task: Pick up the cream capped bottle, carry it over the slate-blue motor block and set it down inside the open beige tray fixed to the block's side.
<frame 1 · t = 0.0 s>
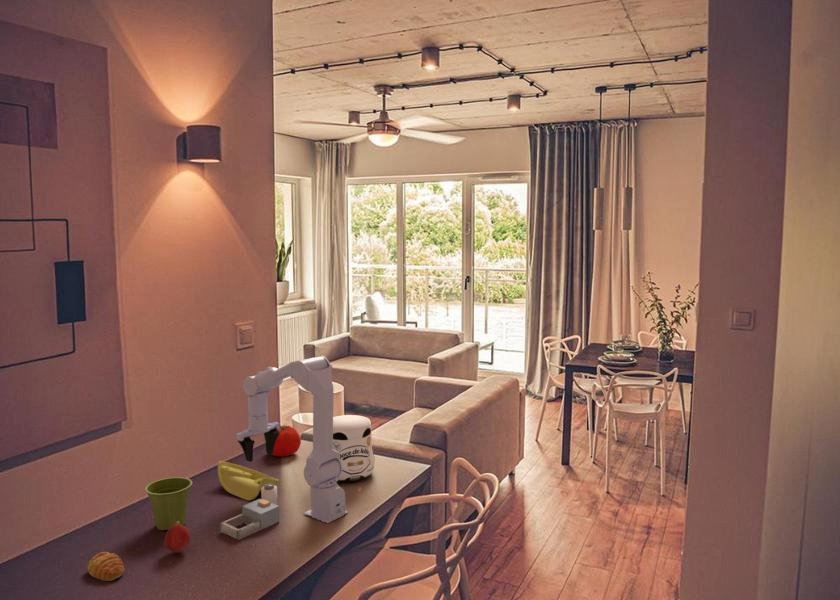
hand: (259, 457, 193), 10 cm above the table, tool pointing down, fingers open, 7 cm apart
cream capped bottle: (269, 508, 181), on the table
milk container: (348, 476, 205), on the table
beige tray: (241, 530, 167), on the table
plant pot: (170, 525, 171), on the table
pastry: (107, 573, 148), on the table
plastic component: (247, 489, 195), on the table
motor block: (261, 521, 172), on the table
tomato: (283, 455, 224), on the table
onion: (178, 553, 156), on the table
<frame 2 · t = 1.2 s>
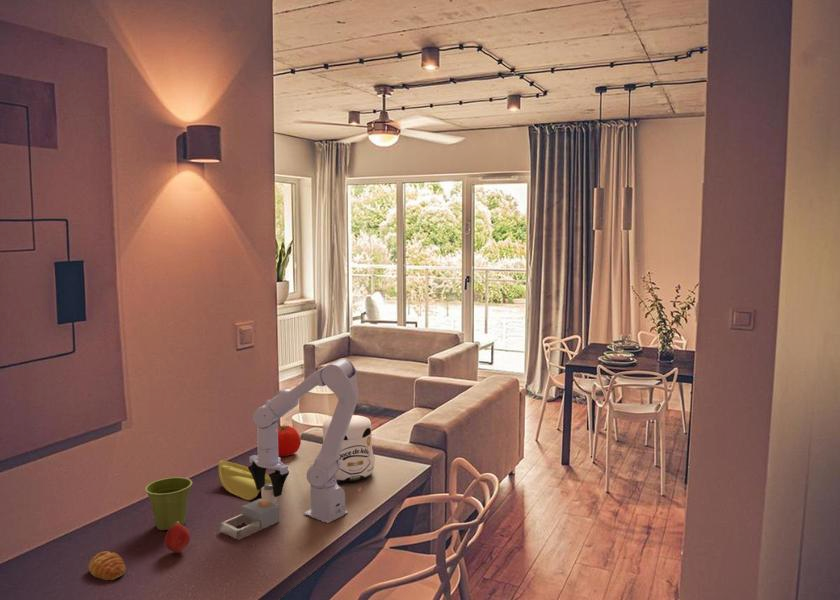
hand: (269, 492, 180), 5 cm above the table, tool pointing down, fingers open, 7 cm apart
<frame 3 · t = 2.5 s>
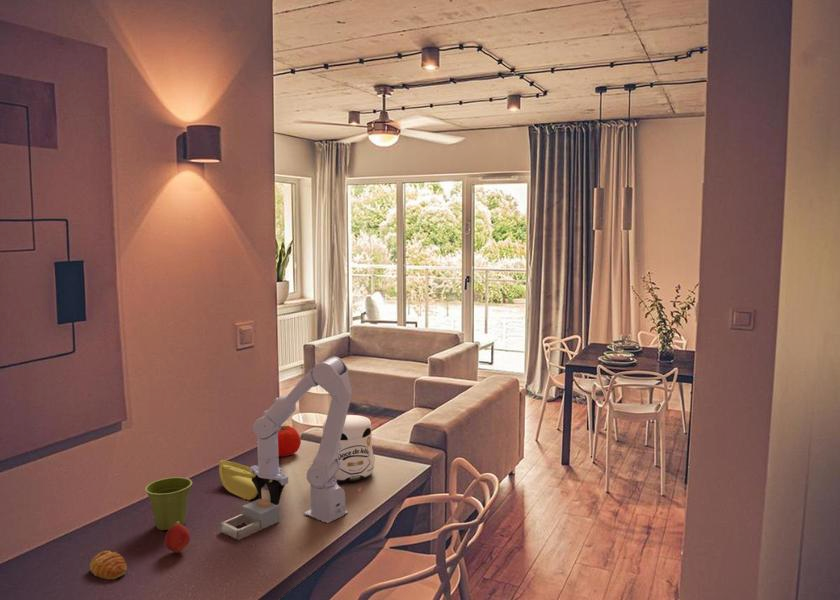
hand: (269, 502, 181), 2 cm above the table, tool pointing down, fingers closed on cream capped bottle, 4 cm apart
cream capped bottle: (269, 508, 181), on the table, touching gripper
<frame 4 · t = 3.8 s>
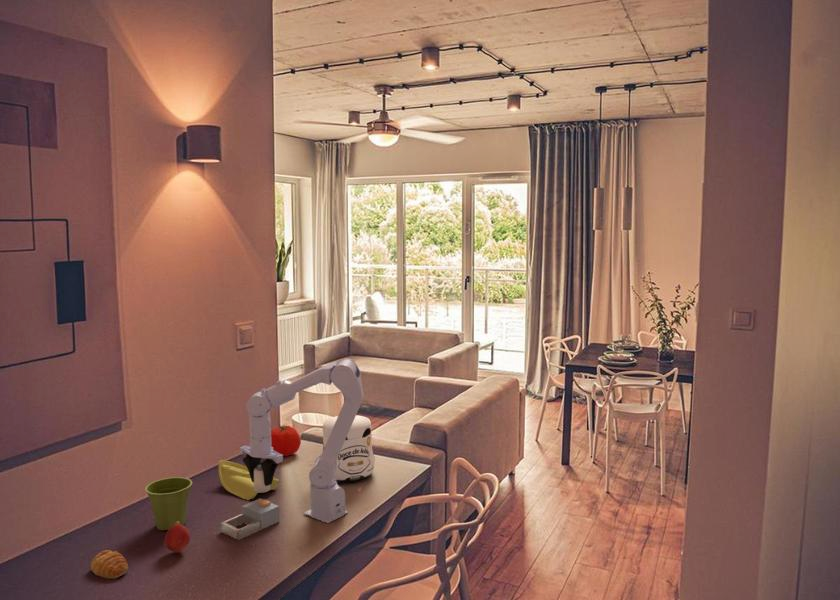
hand: (261, 482, 176), 9 cm above the table, tool pointing down, fingers closed on cream capped bottle, 4 cm apart
cream capped bottle: (262, 489, 177), point 7 cm above the table, touching gripper
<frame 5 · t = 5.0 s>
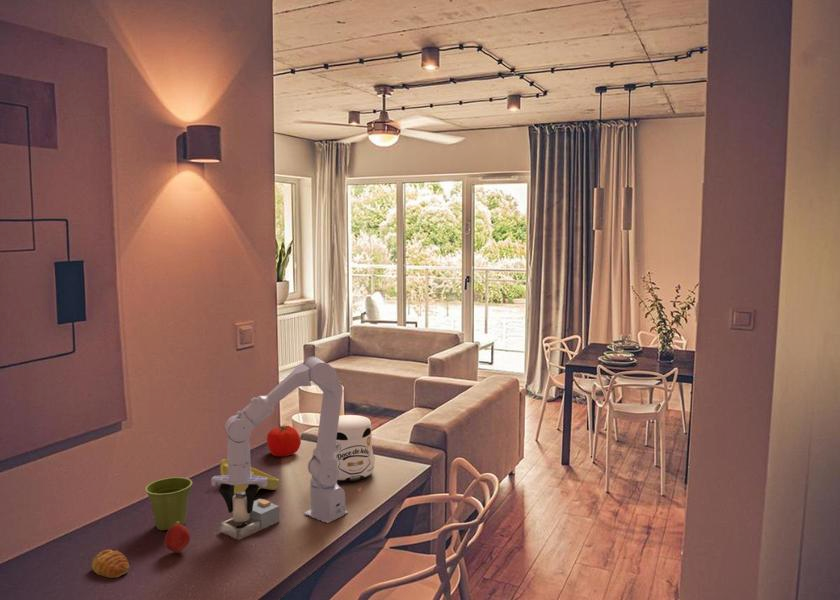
hand: (240, 511, 167), 5 cm above the table, tool pointing down, fingers closed on cream capped bottle, 4 cm apart
cream capped bottle: (241, 518, 167), point 3 cm above the table, touching gripper
when the fingers open (3 cm above the table, at t = 6.2 s): cream capped bottle drops 1 cm, resting in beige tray.
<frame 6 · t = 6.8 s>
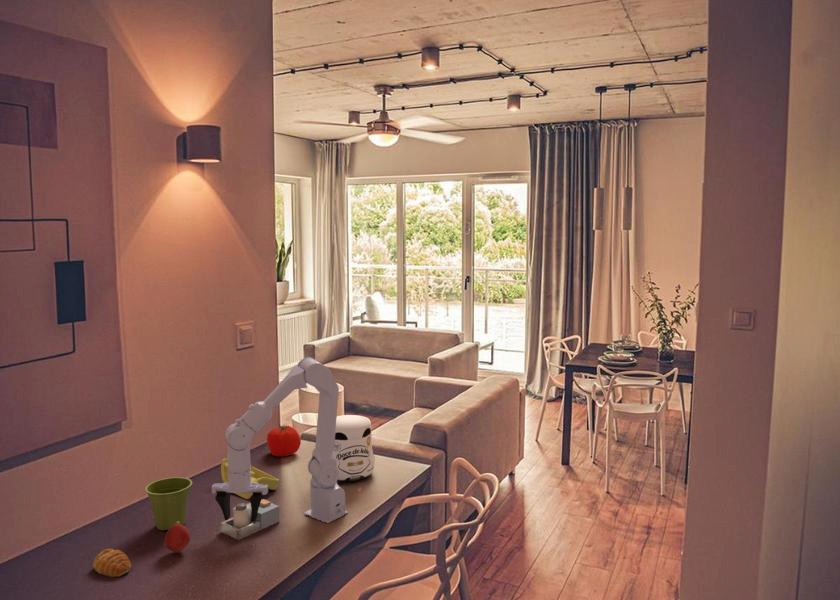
hand: (241, 519, 167), 3 cm above the table, tool pointing down, fingers open, 7 cm apart
cream capped bottle: (242, 530, 168), resting in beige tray
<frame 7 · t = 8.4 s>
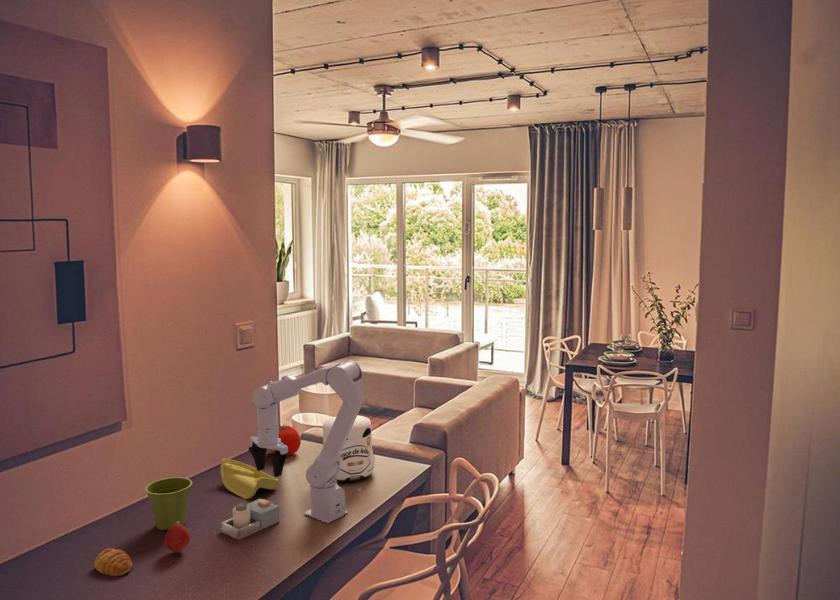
hand: (269, 472, 181), 10 cm above the table, tool pointing down, fingers open, 7 cm apart
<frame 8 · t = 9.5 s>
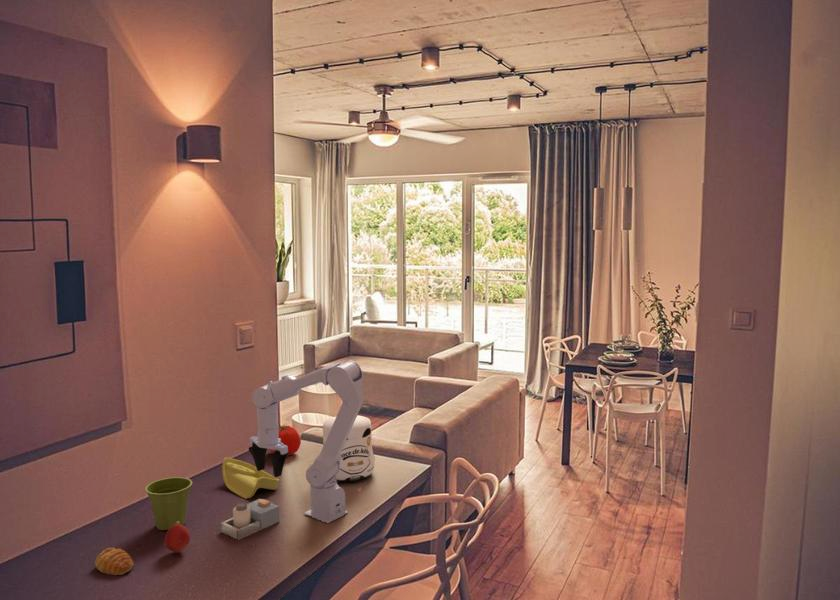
hand: (269, 472, 181), 10 cm above the table, tool pointing down, fingers open, 7 cm apart
at the end: cream capped bottle 0.4 cm off-centre on the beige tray, point 0.0 cm above the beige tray's base; cream capped bottle tilted 0°; the gripper is holding nothing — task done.
